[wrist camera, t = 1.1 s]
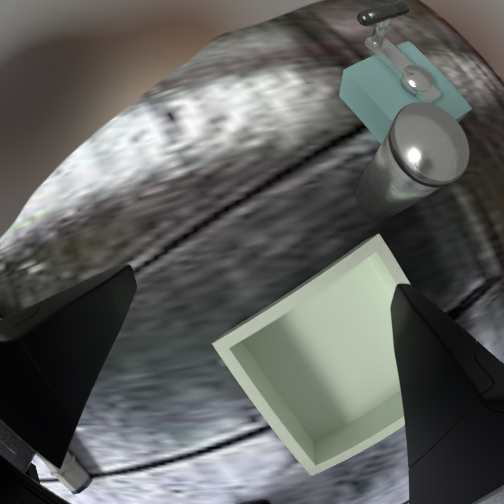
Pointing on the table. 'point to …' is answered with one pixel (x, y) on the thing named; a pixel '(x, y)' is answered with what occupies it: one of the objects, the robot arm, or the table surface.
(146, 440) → the table surface
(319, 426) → the tray
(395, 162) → the pin
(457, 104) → the crank block
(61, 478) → the grey mallet
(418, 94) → the crank handle
